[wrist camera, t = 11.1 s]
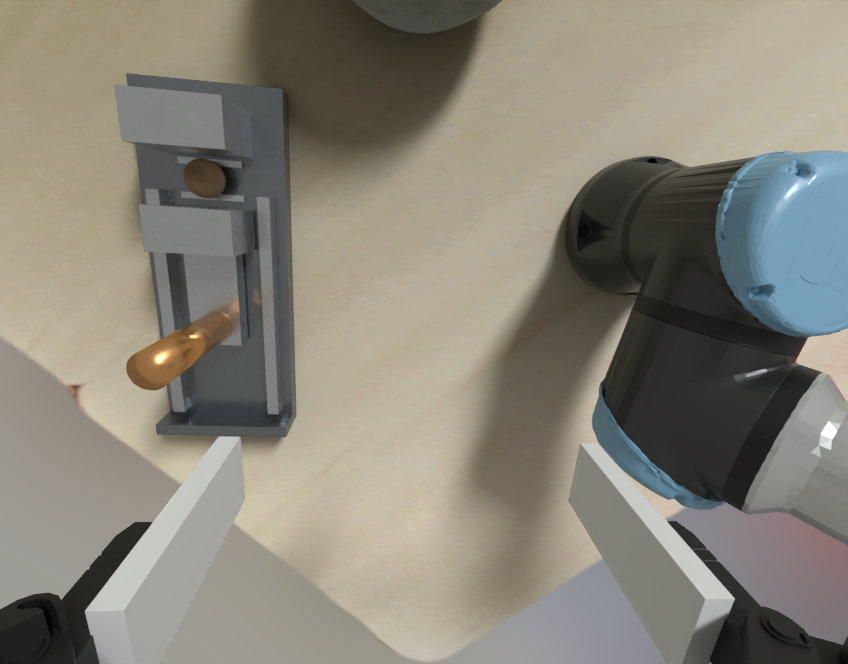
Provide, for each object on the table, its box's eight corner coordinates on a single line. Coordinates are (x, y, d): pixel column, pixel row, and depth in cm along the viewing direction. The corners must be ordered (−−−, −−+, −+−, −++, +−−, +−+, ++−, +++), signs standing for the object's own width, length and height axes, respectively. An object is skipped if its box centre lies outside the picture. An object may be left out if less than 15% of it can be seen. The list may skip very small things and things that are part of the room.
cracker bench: (139, 80, 38) (66, 42, 30) (287, 94, 40) (258, 62, 31) (180, 412, 49) (134, 455, 40) (296, 415, 50) (276, 457, 41)
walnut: (208, 152, 39) (190, 146, 35) (239, 179, 40) (224, 176, 36) (186, 180, 39) (167, 177, 36) (217, 206, 40) (201, 206, 37)
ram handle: (175, 205, 40) (64, 202, 26) (253, 210, 40) (184, 211, 27) (189, 337, 44) (100, 393, 30) (260, 340, 44) (203, 396, 31)
